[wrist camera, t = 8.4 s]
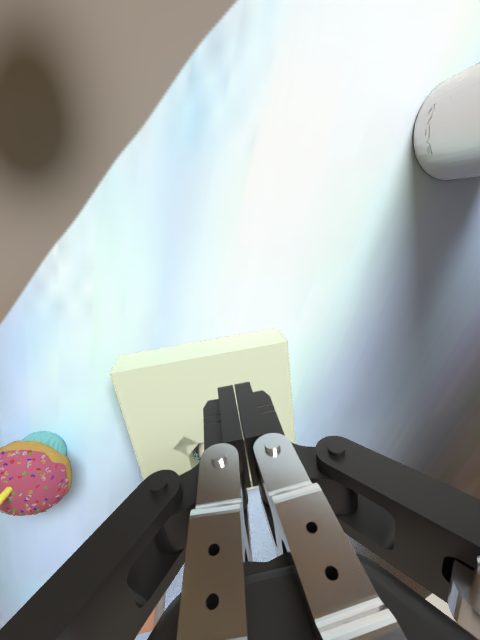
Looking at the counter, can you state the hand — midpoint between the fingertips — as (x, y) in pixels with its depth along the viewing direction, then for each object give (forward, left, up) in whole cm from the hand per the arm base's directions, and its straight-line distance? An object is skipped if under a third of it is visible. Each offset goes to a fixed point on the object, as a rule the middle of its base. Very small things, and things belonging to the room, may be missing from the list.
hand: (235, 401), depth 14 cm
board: (+2, +15, -20) cm, 25 cm away
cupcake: (+22, +15, -20) cm, 34 cm away
